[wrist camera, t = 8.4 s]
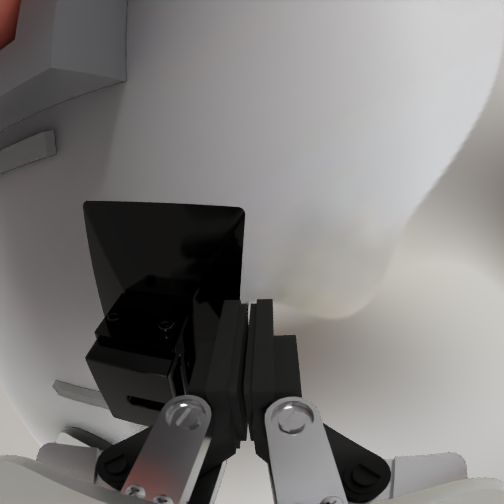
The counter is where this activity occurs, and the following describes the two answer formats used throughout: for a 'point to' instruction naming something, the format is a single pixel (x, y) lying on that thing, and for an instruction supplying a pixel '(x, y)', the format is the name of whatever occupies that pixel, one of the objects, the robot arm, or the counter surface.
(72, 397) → the strip
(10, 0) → the plunger
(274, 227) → the counter surface
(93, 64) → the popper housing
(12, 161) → the strip
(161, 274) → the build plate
